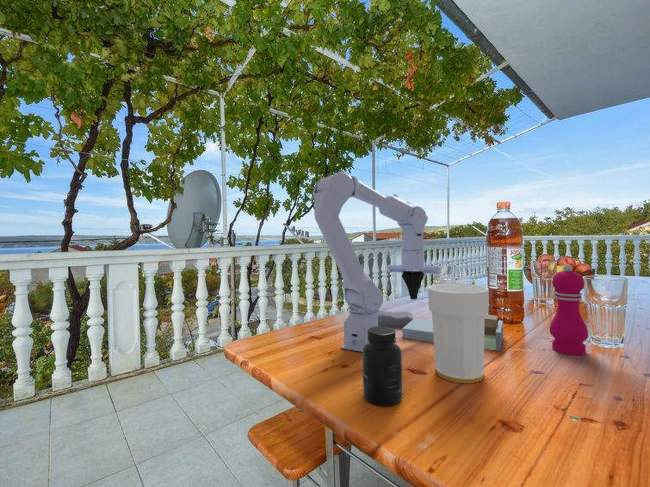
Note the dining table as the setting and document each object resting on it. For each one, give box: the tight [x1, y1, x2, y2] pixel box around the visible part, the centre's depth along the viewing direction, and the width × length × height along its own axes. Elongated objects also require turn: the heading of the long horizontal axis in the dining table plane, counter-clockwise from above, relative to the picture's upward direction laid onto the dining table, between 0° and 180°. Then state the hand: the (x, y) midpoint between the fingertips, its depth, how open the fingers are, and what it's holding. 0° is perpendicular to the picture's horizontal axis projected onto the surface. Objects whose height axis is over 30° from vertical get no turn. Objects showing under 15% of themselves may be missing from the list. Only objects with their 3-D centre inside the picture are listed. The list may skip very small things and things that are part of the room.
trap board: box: [401, 318, 504, 352], centre depth 87 cm, size 24×11×4 cm, turn 59°
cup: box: [427, 282, 490, 384], centre depth 65 cm, size 11×11×17 cm
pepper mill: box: [549, 264, 589, 356], centre depth 76 cm, size 7×7×20 cm
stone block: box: [378, 310, 414, 328], centre depth 103 cm, size 12×5×10 cm
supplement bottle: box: [361, 326, 403, 407], centre depth 57 cm, size 7×7×12 cm
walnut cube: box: [484, 314, 499, 336], centre depth 83 cm, size 4×4×4 cm
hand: (413, 298), depth 91 cm, fingers closed
